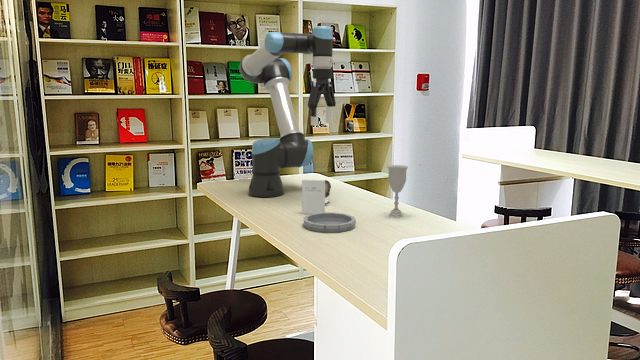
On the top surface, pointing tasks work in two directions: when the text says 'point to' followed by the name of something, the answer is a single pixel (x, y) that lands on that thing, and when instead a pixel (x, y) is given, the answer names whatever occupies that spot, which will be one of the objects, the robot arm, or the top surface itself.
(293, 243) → the top surface
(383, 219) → the top surface
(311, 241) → the top surface
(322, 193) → the external hard drive
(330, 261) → the top surface
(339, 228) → the dish
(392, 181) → the chalice
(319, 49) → the robot arm
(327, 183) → the eagle figurine
